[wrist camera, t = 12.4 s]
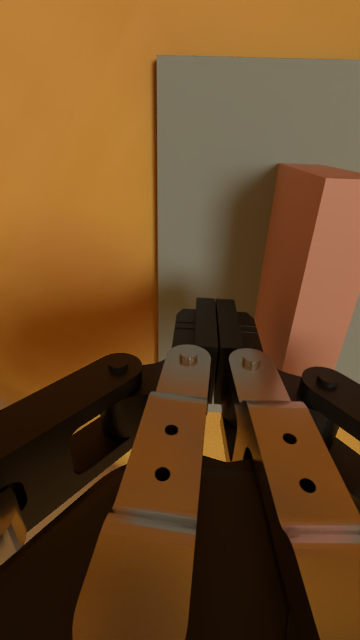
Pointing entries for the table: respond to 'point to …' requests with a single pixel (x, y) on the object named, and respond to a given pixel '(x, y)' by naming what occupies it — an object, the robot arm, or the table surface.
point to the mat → (241, 171)
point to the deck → (309, 266)
